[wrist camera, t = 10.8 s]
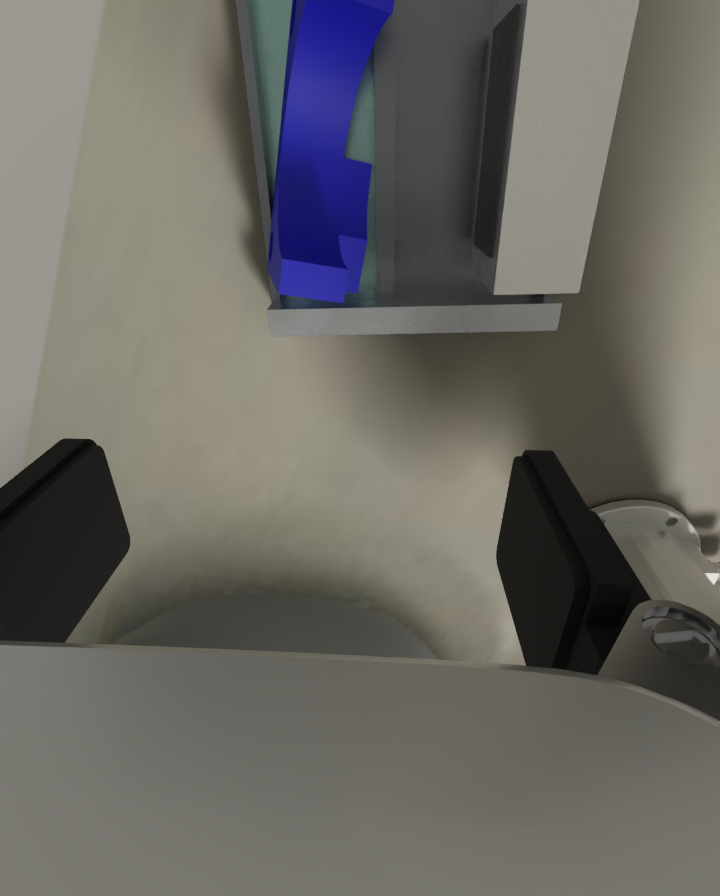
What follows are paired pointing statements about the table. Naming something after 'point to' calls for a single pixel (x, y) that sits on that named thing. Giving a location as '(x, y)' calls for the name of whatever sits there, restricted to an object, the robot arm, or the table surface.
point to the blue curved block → (322, 151)
